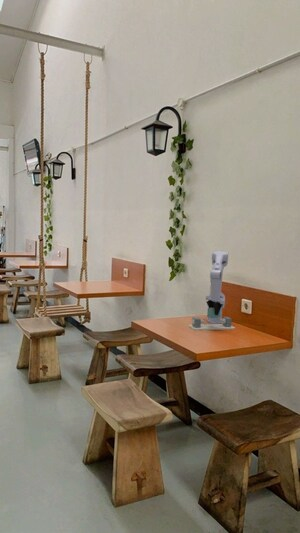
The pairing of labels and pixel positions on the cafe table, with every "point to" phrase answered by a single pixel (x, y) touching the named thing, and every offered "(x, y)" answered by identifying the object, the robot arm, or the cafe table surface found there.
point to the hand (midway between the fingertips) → (214, 314)
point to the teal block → (212, 313)
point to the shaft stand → (197, 324)
